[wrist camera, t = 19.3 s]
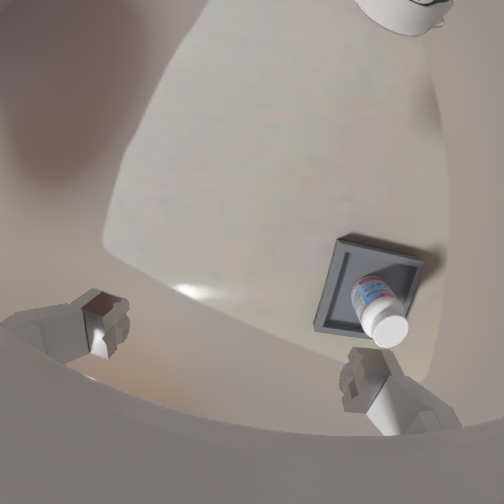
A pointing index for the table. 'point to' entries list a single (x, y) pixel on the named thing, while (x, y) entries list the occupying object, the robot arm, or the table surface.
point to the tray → (350, 272)
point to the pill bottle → (379, 311)
